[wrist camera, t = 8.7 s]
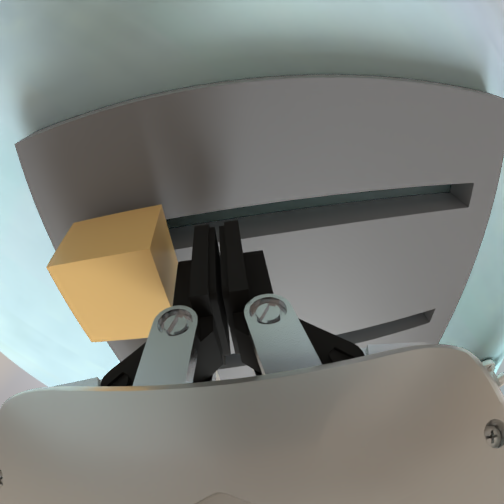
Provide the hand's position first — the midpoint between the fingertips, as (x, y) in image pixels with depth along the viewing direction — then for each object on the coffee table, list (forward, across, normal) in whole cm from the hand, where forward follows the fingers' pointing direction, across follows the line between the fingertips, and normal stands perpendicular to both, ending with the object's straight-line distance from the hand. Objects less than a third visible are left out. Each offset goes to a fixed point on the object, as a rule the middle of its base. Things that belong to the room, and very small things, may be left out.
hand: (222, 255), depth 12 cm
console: (+4, -4, +5) cm, 7 cm away
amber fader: (+4, +4, 0) cm, 6 cm away
